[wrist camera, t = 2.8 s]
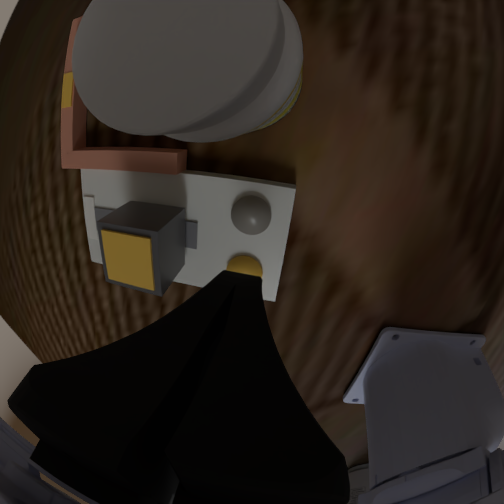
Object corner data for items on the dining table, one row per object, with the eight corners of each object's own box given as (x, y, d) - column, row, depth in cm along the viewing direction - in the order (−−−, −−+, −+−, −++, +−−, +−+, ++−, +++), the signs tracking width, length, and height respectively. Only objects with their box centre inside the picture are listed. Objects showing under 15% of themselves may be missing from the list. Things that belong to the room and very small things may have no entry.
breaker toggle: (185, 207, 12) (156, 233, 10) (185, 264, 14) (160, 298, 11) (130, 200, 13) (94, 222, 10) (134, 253, 14) (104, 282, 12)
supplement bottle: (196, 39, 10) (70, -24, 2) (300, 32, 9) (295, -84, 2) (198, 133, 12) (63, 169, 5) (302, 132, 11) (308, 157, 4)
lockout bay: (205, -2, 9) (196, -12, 7) (186, 169, 13) (175, 175, 12) (86, 22, 9) (72, 19, 8) (75, 163, 13) (60, 168, 12)
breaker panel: (296, 184, 12) (295, 190, 11) (276, 292, 15) (274, 303, 14) (89, 163, 13) (78, 167, 12) (98, 255, 16) (90, 262, 15)
